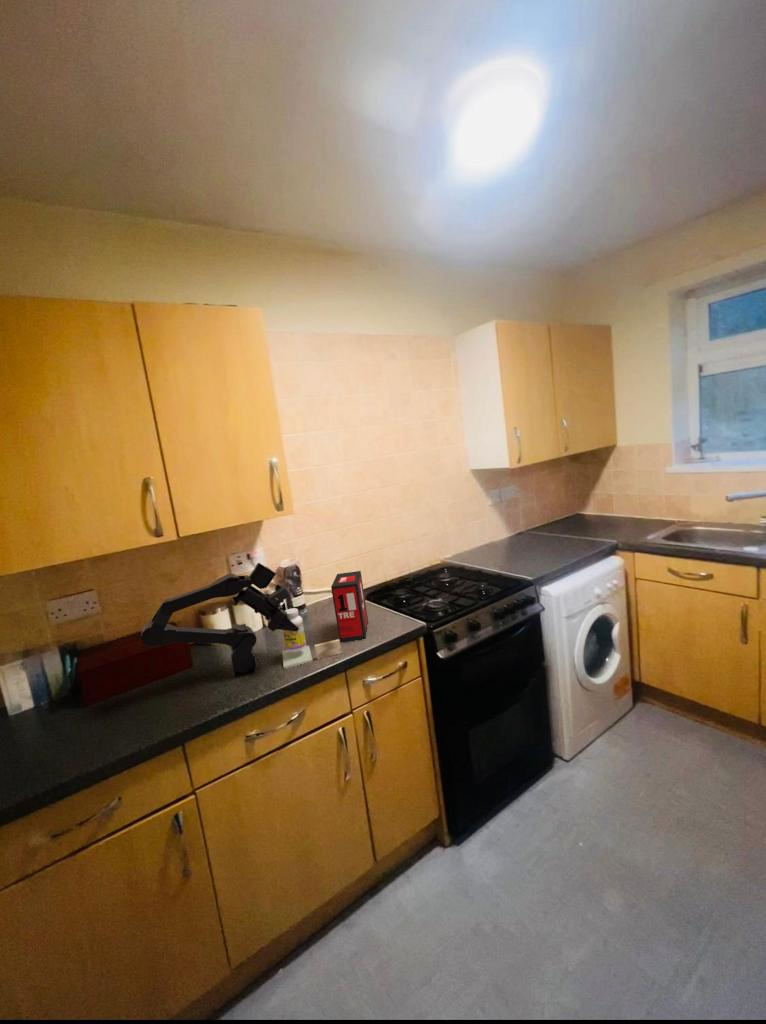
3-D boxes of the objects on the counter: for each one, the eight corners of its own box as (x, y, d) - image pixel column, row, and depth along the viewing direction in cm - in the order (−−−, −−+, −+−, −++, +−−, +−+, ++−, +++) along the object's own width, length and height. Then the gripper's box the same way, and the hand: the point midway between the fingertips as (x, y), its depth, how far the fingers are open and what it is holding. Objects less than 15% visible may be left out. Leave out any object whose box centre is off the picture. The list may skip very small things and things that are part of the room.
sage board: (284, 669, 137) (283, 666, 137) (282, 653, 149) (282, 651, 149) (312, 661, 139) (312, 659, 139) (309, 647, 151) (308, 645, 151)
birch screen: (317, 659, 140) (315, 646, 140) (316, 658, 142) (314, 645, 141) (341, 653, 142) (339, 640, 142) (341, 652, 144) (339, 639, 143)
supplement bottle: (281, 651, 143) (275, 614, 141) (294, 642, 149) (288, 606, 147) (298, 653, 140) (291, 615, 138) (310, 644, 146) (304, 607, 144)
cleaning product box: (345, 624, 168) (337, 573, 165) (368, 621, 167) (360, 570, 165) (340, 642, 151) (331, 586, 149) (365, 639, 151) (357, 583, 149)
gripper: (273, 586, 132) (315, 614, 136) (272, 573, 150) (309, 598, 154) (250, 617, 131) (293, 644, 135) (252, 600, 149) (290, 624, 153)
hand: (297, 626), depth 144 cm, fingers closed on supplement bottle, 7 cm apart
